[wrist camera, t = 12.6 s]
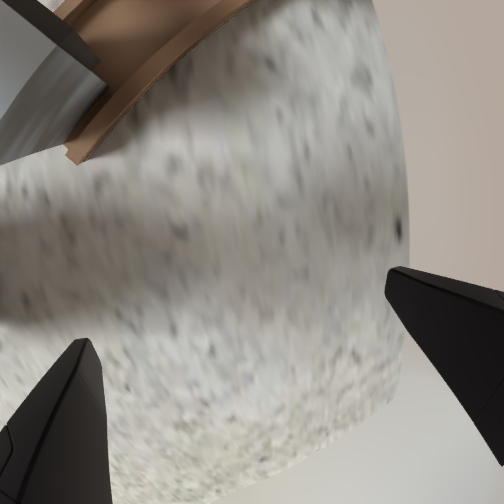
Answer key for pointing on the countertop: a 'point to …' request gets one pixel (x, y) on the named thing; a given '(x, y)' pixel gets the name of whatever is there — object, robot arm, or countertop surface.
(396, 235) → the countertop surface
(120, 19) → the walnut rail
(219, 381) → the countertop surface
